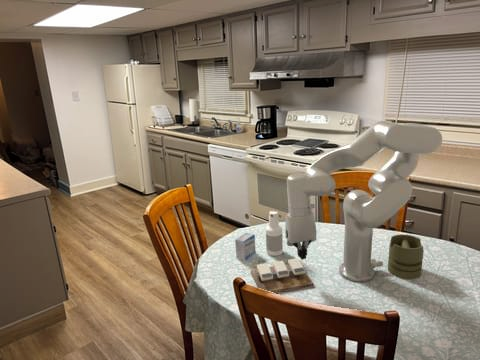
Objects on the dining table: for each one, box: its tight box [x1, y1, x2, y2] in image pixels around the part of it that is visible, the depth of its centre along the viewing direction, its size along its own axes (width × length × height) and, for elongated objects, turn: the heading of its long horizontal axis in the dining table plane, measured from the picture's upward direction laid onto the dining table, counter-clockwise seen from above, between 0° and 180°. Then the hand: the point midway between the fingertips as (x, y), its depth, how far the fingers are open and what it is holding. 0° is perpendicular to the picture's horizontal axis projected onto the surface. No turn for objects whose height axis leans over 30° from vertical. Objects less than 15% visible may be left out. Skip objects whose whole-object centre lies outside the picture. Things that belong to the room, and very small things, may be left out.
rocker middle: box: [271, 260, 289, 278], centre depth 133 cm, size 4×7×1 cm, turn 13°
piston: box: [387, 234, 425, 280], centre depth 133 cm, size 11×12×11 cm
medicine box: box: [234, 232, 257, 262], centre depth 151 cm, size 8×4×9 cm, turn 143°
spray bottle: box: [265, 210, 284, 257], centre depth 151 cm, size 7×7×18 cm
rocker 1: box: [256, 262, 273, 281], centre depth 132 cm, size 4×7×1 cm, turn 13°
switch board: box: [250, 263, 315, 294], centre depth 133 cm, size 19×15×3 cm
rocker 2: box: [287, 257, 306, 275], centre depth 134 cm, size 4×7×1 cm, turn 13°
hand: (302, 257), depth 130 cm, fingers closed
